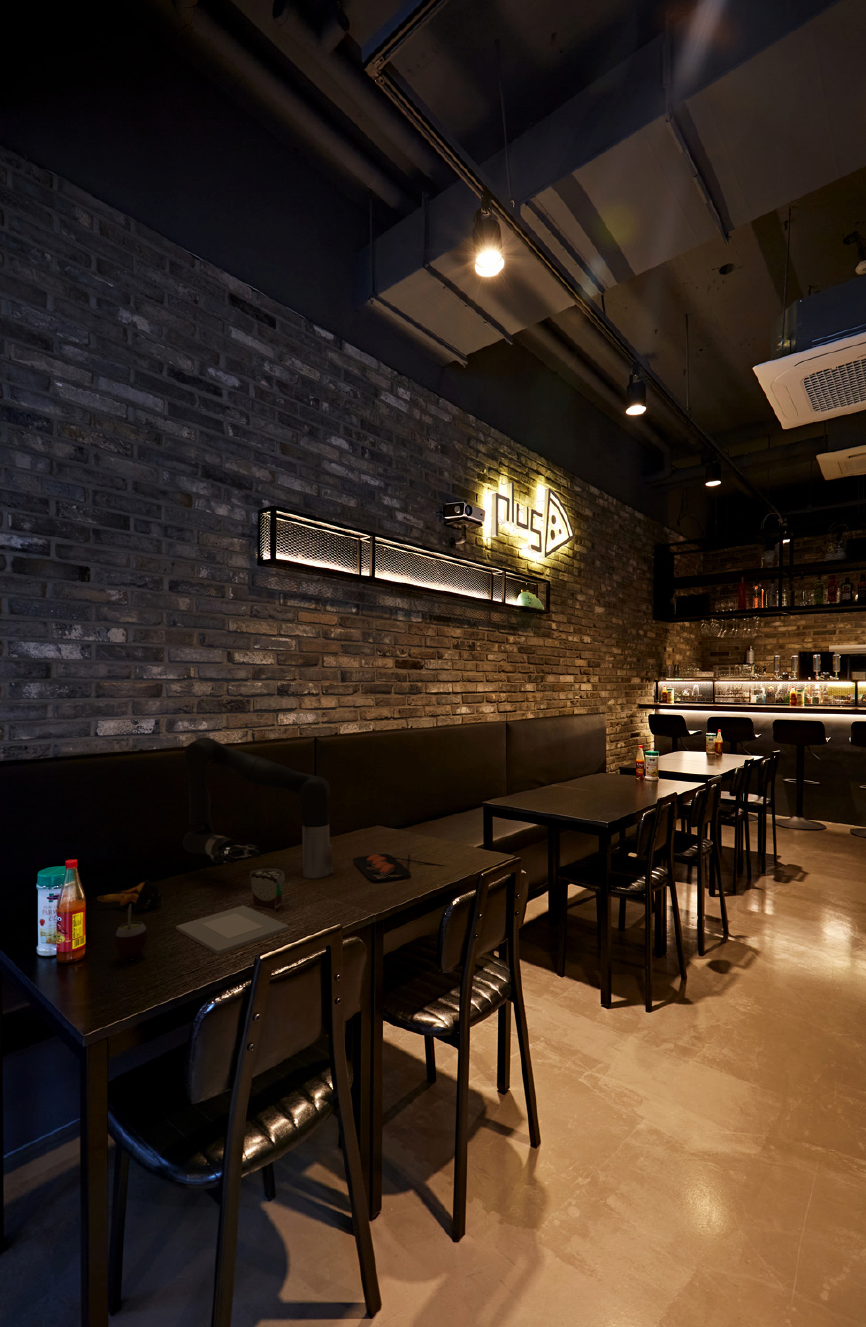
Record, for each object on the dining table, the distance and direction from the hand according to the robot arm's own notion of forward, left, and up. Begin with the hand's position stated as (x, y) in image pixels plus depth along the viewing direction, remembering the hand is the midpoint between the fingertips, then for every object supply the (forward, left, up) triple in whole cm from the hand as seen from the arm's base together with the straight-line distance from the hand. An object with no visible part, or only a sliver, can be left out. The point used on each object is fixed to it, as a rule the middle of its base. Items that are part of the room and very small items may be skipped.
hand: (246, 857), depth 192 cm
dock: (+17, +22, -12) cm, 30 cm away
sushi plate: (-51, +16, -12) cm, 55 cm away
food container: (0, +14, -12) cm, 19 cm away
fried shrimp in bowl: (+29, -17, -12) cm, 35 cm away
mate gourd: (+42, +20, -12) cm, 48 cm away
